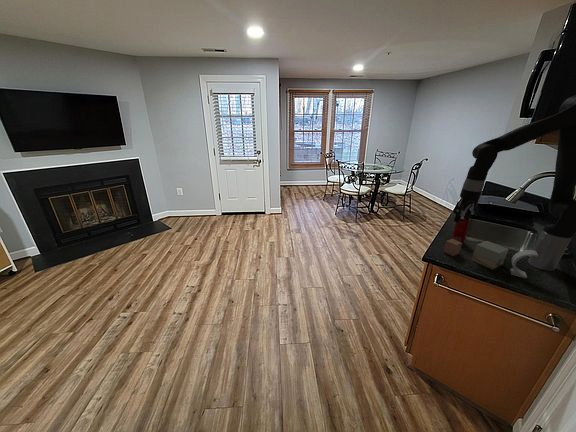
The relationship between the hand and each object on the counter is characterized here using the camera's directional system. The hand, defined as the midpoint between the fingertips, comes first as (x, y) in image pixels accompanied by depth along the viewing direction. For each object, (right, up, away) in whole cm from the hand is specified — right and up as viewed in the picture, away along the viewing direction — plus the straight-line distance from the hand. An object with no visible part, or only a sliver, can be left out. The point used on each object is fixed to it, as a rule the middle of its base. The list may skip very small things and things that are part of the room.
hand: (461, 220), depth 115 cm
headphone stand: (+18, -24, -9) cm, 32 cm away
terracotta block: (0, -17, +7) cm, 18 cm away
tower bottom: (+12, -21, -1) cm, 24 cm away
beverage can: (+11, -12, +19) cm, 25 cm away
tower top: (+12, -16, -2) cm, 20 cm away
